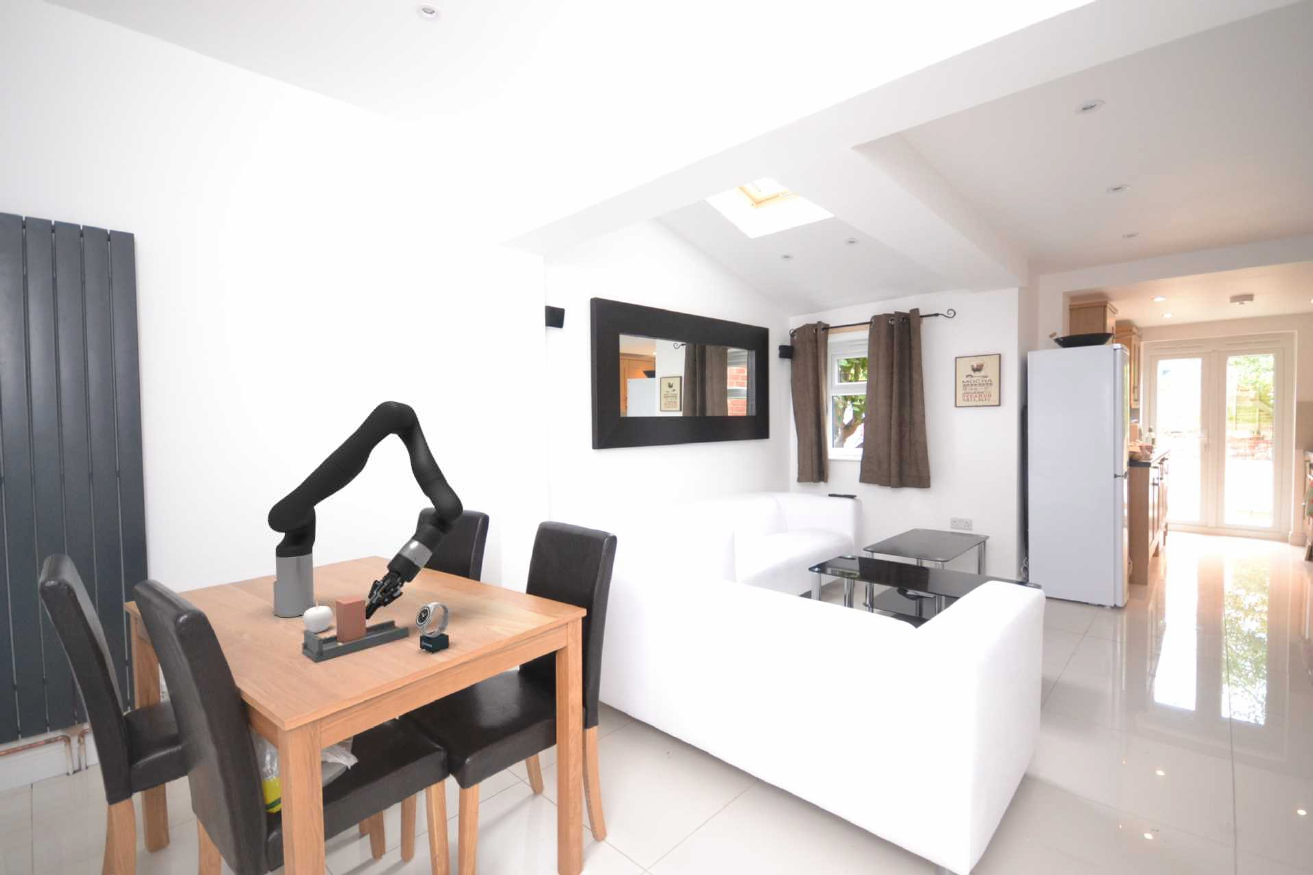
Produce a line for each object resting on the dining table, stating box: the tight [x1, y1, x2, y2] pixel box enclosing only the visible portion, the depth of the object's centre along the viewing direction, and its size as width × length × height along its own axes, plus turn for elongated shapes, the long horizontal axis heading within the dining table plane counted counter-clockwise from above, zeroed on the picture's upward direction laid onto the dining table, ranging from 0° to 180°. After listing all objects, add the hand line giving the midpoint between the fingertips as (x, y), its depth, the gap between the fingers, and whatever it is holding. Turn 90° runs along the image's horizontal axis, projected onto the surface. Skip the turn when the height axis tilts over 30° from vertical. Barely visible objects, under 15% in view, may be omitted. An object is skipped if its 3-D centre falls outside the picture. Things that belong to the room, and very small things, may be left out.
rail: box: [301, 619, 410, 663], centre depth 149 cm, size 22×9×5 cm, turn 138°
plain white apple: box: [302, 600, 334, 634], centre depth 160 cm, size 7×7×8 cm
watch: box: [415, 601, 451, 654], centre depth 146 cm, size 6×8×11 cm
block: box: [335, 595, 367, 644], centre depth 148 cm, size 5×5×10 cm
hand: (363, 617), depth 150 cm, fingers closed
